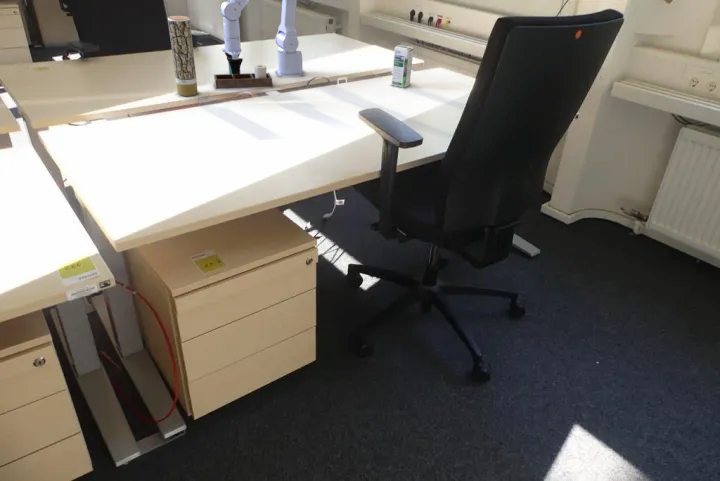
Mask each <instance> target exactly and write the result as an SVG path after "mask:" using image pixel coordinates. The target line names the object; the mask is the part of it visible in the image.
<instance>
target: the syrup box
mask: <svg viewBox="0 0 720 481" xmlns="http://www.w3.org/2000/svg"><path fill="white" fill-rule="evenodd" d="M393 50H394V51H393V64H392V75H391V76H392V77H391V83H390V84H391V86H393V87H399V88H406V87H408V86H410V84H411V77H412V66H413V57H414V46H409V45H408V46H407V45H403V44H398V45H396V46H395V47H394V49H393Z"/></svg>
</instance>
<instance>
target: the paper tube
mask: <svg viewBox="0 0 720 481" xmlns="http://www.w3.org/2000/svg"><path fill="white" fill-rule="evenodd" d="M167 23H168V31H169V38H170V39H169V40H170V46H171V54H172V62H173V69H174V77H175V83H176V84H175V85H176V90H177V94H178V95H179V96H182V97H193V96H196V95H197V94H198V92H199V91H198V82H197V72H196V63H195V55H194V46H193V37H192V27H191V26H192V25H191V19H190V16H187V15H171V16H167Z"/></svg>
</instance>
